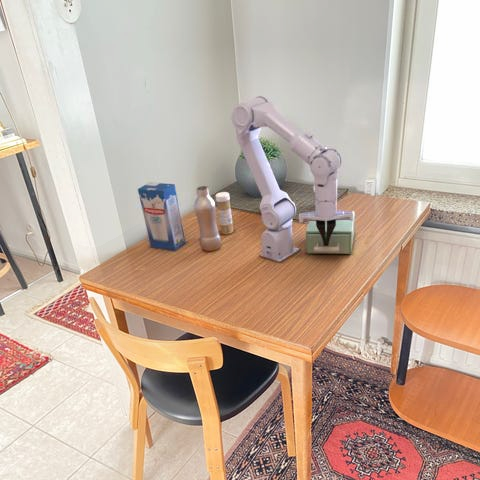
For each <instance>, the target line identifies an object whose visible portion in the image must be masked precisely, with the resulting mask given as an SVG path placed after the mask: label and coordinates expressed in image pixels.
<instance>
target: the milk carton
mask: <svg viewBox="0 0 480 480" xmlns="http://www.w3.org/2000/svg"><path fill="white" fill-rule="evenodd" d="M137 192H138V197H139V201H140V205H141V210H142V214H143V215H142V216H143V220H144V223H145V227H146V232H147V237H148V240H149V244H150V245H149V246H150V248H152V249H153V248H154V249H160V250H167V251H174V252H176V251H177V250H178V249H180V248H181V247H182V246H184V244H186V237H185V233H184V227H183V223H182V217H181V216H182V215H181V212H180V206H179V201H178V195H177V190H176V184H175V183H164V182H148V183H146V184H144V185H142V186H140V187H139V188H137Z"/></svg>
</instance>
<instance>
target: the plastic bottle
mask: <svg viewBox="0 0 480 480" xmlns="http://www.w3.org/2000/svg"><path fill="white" fill-rule="evenodd" d="M209 189H210V188H209V187H208V185H202V186H198V187H196V188H195V190H196V194H195V195H196V196H197V197H196V199H195V200H194V203H193V209H194V212H195V215H196V218H197V222H198V226H199V244H200V246H201V248H202V250H204V251H207V252H211V251H216V250H218V249H219V248H220V247H221V246H222V245H221V244H222V240H221V235H220V233H219V229H218V226H217V217H216V216H217V215H216V202H215V200H214V198H213V197H212V196H211V195H210V190H209Z"/></svg>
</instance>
